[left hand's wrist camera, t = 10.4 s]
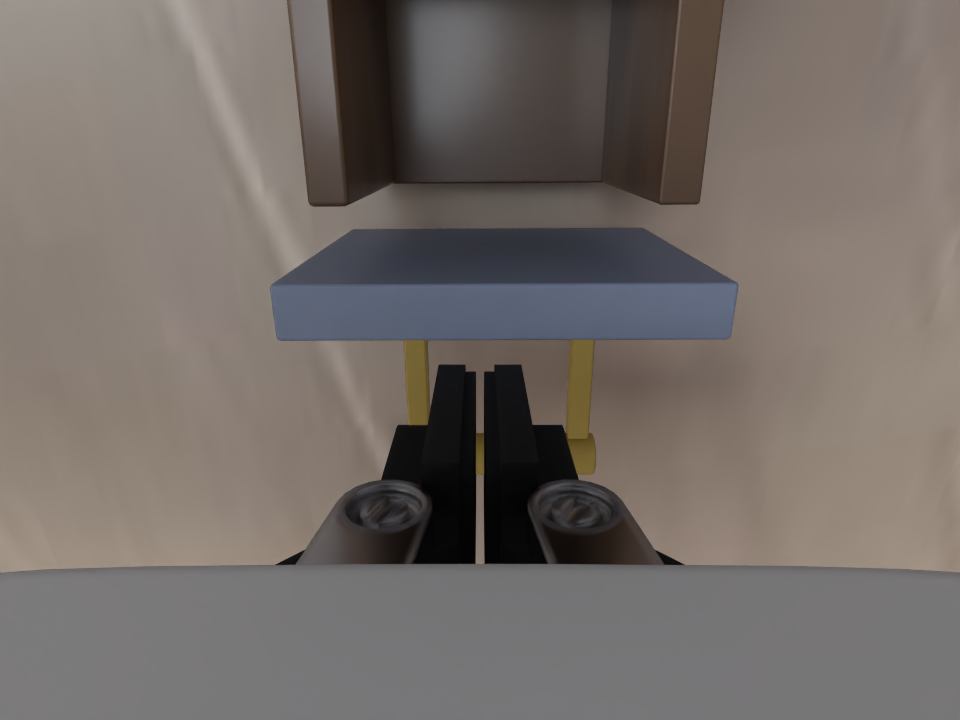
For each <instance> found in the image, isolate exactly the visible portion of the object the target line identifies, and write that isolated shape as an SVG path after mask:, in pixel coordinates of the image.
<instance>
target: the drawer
mask: <svg viewBox="0 0 960 720" xmlns="http://www.w3.org/2000/svg"><path fill="white" fill-rule="evenodd" d="M287 5H288V14H289V23H290V33H291V42H292V52H293V61H294V71H295V80H296V89H297V99H298V108H299V118H300V127H301V137H302V146H303V155H304V165H305V174H306V184H307V193H308V202H309V204H310V205H311V206H347V205H349V204H351V203H353V202H355V201H357V200H359V199H361V198H363V197H366V196H368V195H370V194H372V193H374V192H376V191H378V190H380V189H382V188H384V187H386V186H389V185H391V184H404V183H559V182H604V183H606V184H609V185H611V186H614V187H617V188H619V189H622V190H624V191H627V192H630V193H632V194H635V195H637V196H640V197H643V198H645V199H648V200H650V201H653V202H656V203H658V204H661V205H675V204H699V202H700V196H701V188H702V180H703V171H704V163H705V155H706V146H707V138H708V130H709V121H710V113H711V105H712V96H713V88H714V80H715V71H716V63H717V55H718V47H719V38H720V30H721V22H722V13H723V5H724V0H287ZM270 291H271V299H272V306H273V313H274V321H275V328H276V336H277V339H278V340H281V341H316V340H404V353H405V371H406V389H407V407H408V425H428V420H429V414H430V389H429V364H428V340H570V352H569V373H568V393H567V413H566V432H567V433H565V435H566V438H567V442H568V445H569V448H570V452H571V455H572V458H573V462H574V465H575V469H576V472H577V474H593V473H594V471H595V466H596V447H595V440H594V437H593V434H592V433H589V419H590V404H591V388H592V373H593V357H594V342H595V340H673V339H729V338H730V337H731V332H732V325H733V318H734V312H735V305H736V298H737V292H738V283H736V282H735V281H733V280H731V279H730V278H728V277H726V276H724V275H723V274H721V273H719V272H717V271H716V270H714V269H712V268H711V267H709V266H707V265H705V264H704V263H702V262H700V261H699V260H697V259H695V258H693V257H692V256H690V255H688V254H686V253H685V252H683V251H681V250H680V249H678V248H676V247H674V246H673V245H671V244H669V243H668V242H666V241H664V240H662V239H661V238H659V237H657V236H655V235H654V234H652V233H650V232H649V231H647V230H645V229H643V228H536V229H353V230H351V231H350V232H348V233H347V234H345V235H344V236H342V237H341V238H340V239H338V240H337V241H335V242H334V243H332V244H331V245H329V246H328V247H326V248H325V249H323V250H322V251H320V252H319V253H317V254H316V255H314V256H313V257H312V258H310V259H309V260H307V261H306V262H304V263H303V264H301V265H300V266H298V267H297V268H295V269H294V270H292V271H291V272H289V273H288V274H286V275H285V276H283V277H282V278H281V279H279V280H278V281H276V282H275V283H273V284H272V285H271V286H270ZM476 474H484V433H476Z"/></svg>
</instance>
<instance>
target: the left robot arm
mask: <svg viewBox="0 0 960 720" xmlns="http://www.w3.org/2000/svg"><path fill="white" fill-rule="evenodd" d="M475 553H476V372H466V368H465V365H439V366H438V372H437V377H436V382H435V388H434V393H433V398H432V404H431V409H430V414H429V420H428V425H398V426H397V428H396V431H395V435H394V438H393V441H392V445H391V448H390V452H389V455H388V458H387V462H386V465H385V469H384V472H383V475H382V479H381V480H379V481H373V482H368V483H365V484H363V485H360V486H357V487H355V488H353V489H351V490H350V491H348V492H346V493H345V494H344V495H343V496H342V497H341V498H340V499H339V500H338V501H337V503H336V504H335V506H334V507H333V509H332V510H331V512H330V513H329V515H328V516H327V518H326V519H325V521H324V522H323V524H322V525H321V527H320V528H319V530H318V531H317V533H316V534H315V536H314V537H313V539H312V540H311V542H310V543H309V545H308V547H307V548H306V550H304V551H302V552H300V553H298V554H296V555H294V556H292V557H290V558H288V559H286V560H284V561H282V562H280V563H278V564H276V565H243V566H150V567H115V568H83V569H50V570H33V571H19V572H5V573H0V720H960V573H957V572H941V571H925V570H909V569H880V568H842V567H805V566H720V565H684V564H682V563H680V562H678V561H676V560H674V559H672V558H670V557H668V556H666V555H664V554H662V553H660V552H658V551H656V550H654V548H653V547H652V545H651V543H650V542H649V540H648V539H647V537H646V536H645V534H644V533H643V531H642V530H641V528H640V527H639V525H638V524H637V522H636V521H635V519H634V518H633V516H632V515H631V513H630V512H629V510H628V509H627V507H626V506H625V504H624V503H623V501H622V500H621V499H620V498H619V497H618V496H617V495H616V494H615V493H614V492H612V491H610V490H609V489H607V488H605V487H603V486H600V485H597V484H595V483H592V482H587V481H581V480H579V479H578V475H577V472H576V469H575V465H574V462H573V458H572V455H571V452H570V448H569V445H568V442H567V438H566V435H565V431H564V428H563V426H562V425H532V420H531V414H530V409H529V404H528V398H527V393H526V388H525V382H524V377H523V372H522V366H521V365H495V368H494V372H484V554H485V564H475Z"/></svg>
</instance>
